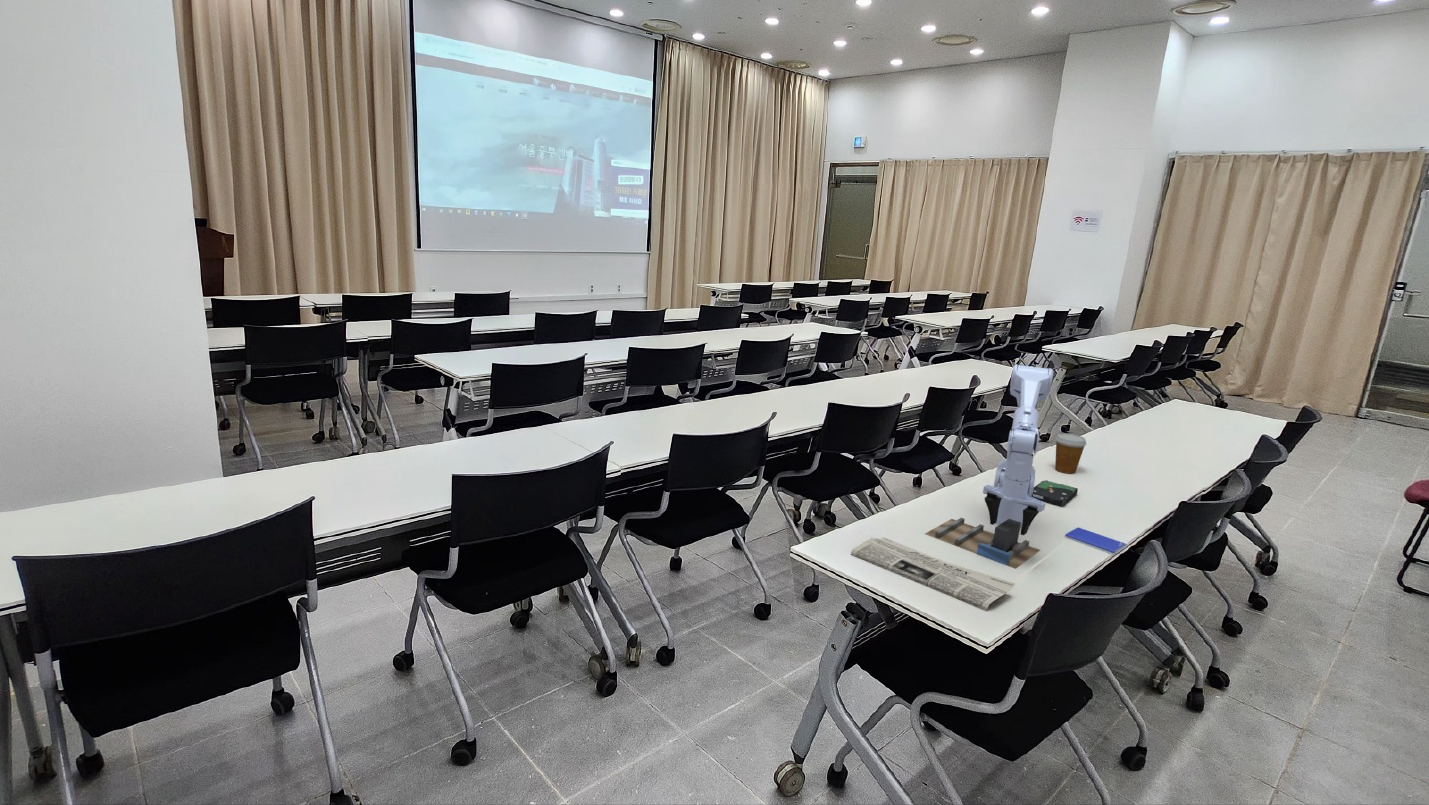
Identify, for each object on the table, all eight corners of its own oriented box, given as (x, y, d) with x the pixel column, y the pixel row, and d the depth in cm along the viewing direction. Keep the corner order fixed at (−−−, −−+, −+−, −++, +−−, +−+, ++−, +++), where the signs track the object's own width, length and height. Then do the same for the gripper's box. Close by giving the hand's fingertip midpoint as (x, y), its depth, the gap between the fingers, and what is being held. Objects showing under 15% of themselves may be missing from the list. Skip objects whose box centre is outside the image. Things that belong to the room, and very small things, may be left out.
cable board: (951, 521, 193) (953, 510, 192) (1039, 553, 177) (1042, 541, 176) (923, 536, 183) (925, 525, 182) (1015, 571, 167) (1017, 559, 166)
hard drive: (1127, 543, 183) (1078, 526, 192) (1114, 551, 178) (1065, 533, 187) (1126, 548, 183) (1077, 531, 192) (1113, 557, 178) (1064, 539, 187)
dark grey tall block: (1004, 543, 179) (1009, 518, 178) (1016, 548, 177) (1021, 522, 176) (991, 553, 174) (995, 527, 172) (1002, 557, 172) (1007, 531, 170)
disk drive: (1063, 510, 207) (1076, 496, 218) (1064, 501, 206) (1078, 487, 217) (1026, 499, 214) (1042, 486, 224) (1028, 491, 213) (1043, 478, 224)
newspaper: (850, 556, 171) (852, 543, 170) (877, 541, 180) (878, 528, 179) (993, 616, 148) (995, 601, 147) (1015, 595, 157) (1018, 581, 156)
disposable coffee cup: (1057, 464, 246) (1063, 431, 243) (1085, 472, 239) (1092, 438, 235) (1044, 469, 240) (1050, 435, 237) (1072, 477, 233) (1079, 443, 230)
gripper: (980, 472, 173) (973, 523, 176) (1040, 490, 163) (1031, 543, 167) (993, 466, 178) (985, 515, 181) (1052, 483, 168) (1042, 535, 171)
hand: (1008, 528), depth 174 cm, fingers open, 7 cm apart
